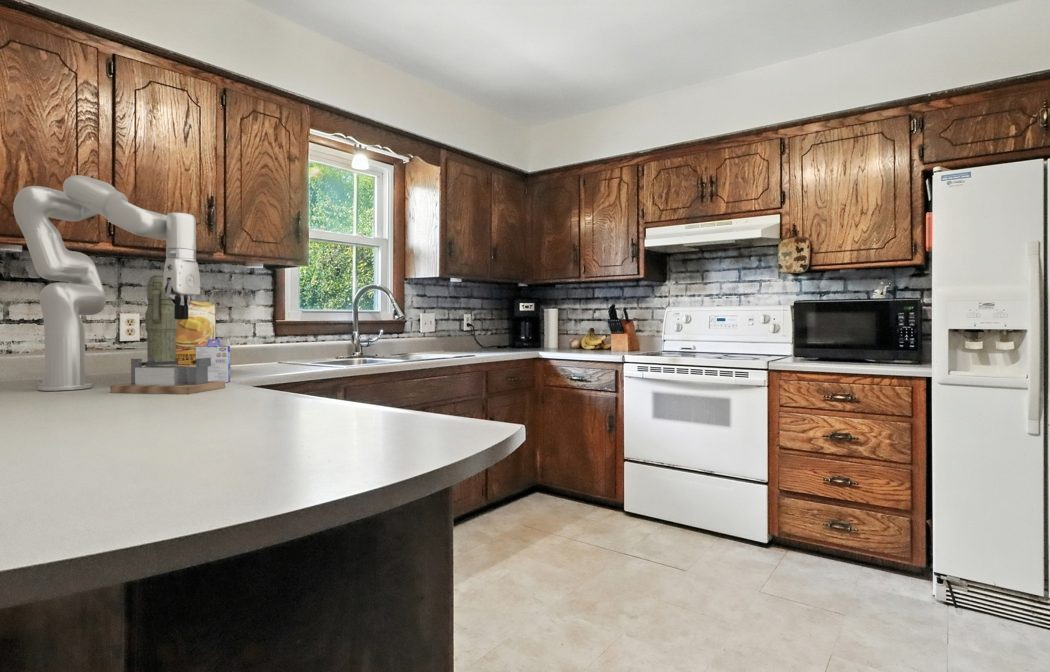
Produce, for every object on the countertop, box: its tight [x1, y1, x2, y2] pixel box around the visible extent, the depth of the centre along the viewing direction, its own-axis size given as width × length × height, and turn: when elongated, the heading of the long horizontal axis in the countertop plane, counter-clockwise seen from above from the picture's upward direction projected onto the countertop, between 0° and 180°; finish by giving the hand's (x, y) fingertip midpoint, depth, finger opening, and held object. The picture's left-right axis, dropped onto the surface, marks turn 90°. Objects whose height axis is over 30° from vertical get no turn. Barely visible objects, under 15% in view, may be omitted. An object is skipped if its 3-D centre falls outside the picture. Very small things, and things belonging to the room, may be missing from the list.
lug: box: [188, 358, 211, 385], centre depth 171 cm, size 3×5×8 cm
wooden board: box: [109, 381, 226, 395], centre depth 172 cm, size 24×16×2 cm, turn 83°
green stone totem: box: [144, 275, 177, 367], centre depth 191 cm, size 9×12×35 cm
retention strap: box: [142, 360, 196, 367], centre depth 172 cm, size 18×6×1 cm, turn 83°
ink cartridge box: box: [196, 338, 232, 383], centre depth 196 cm, size 10×6×14 cm, turn 110°
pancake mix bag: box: [176, 300, 217, 365], centre depth 206 cm, size 7×19×28 cm, turn 118°
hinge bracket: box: [130, 357, 158, 384], centre depth 173 cm, size 2×7×7 cm, turn 173°
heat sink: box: [135, 365, 196, 386], centre depth 172 cm, size 12×12×5 cm
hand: (181, 319), depth 171 cm, fingers closed
